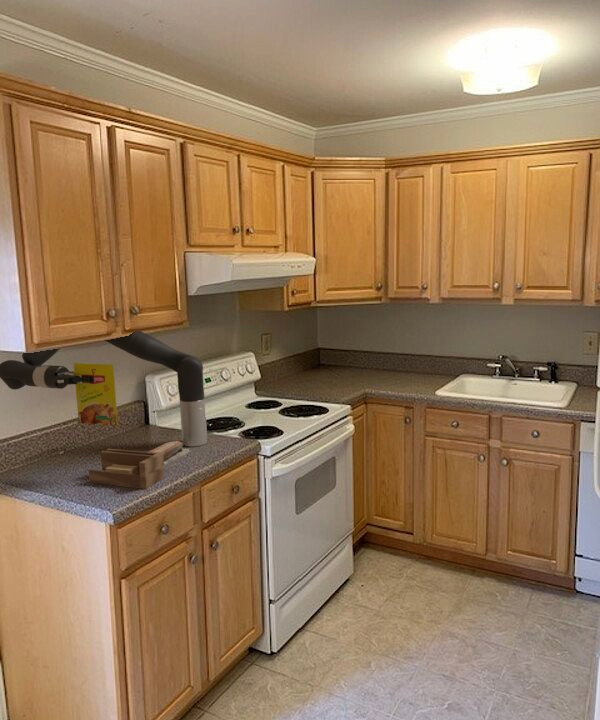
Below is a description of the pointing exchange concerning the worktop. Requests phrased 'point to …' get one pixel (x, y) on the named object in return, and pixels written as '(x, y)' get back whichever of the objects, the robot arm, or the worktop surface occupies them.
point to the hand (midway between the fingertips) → (94, 378)
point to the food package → (96, 395)
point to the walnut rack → (145, 461)
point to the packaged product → (171, 451)
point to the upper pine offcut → (123, 468)
